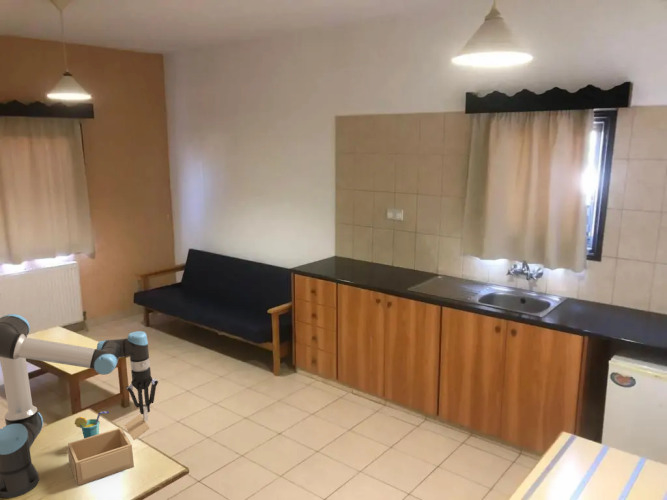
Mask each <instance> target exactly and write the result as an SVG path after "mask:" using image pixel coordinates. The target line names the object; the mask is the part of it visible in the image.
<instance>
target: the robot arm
mask: <svg viewBox="0 0 667 500" xmlns="http://www.w3.org/2000/svg"><path fill="white" fill-rule="evenodd" d="M30 328H31V327H30V323H29V321H28V319H26V318H25V317H24V316H22V315H20V314H17V313H8V314H6V315H3V316H0V364H1V372H2V373H1V374H2V379H3V387H4V390H5V391H4V392H5V393H4V394H5V398H6V403H7V404H6V405H7V412H6V413H5V415H4V420H5V421H4V423H5V426H3V427H2V428H0V499H10V498H12V499H13V498H15V497H19V496H22V495H25V494H27V493H28V492H30V491H32V490H33V489H35V488H36V486H38V484H39V483H40V476H39V472H38V471H37V468H36V467H35V466H34V464H33V462H32V456H31V447H32V445H33V444H34V442H35V441H36V439H37V437H38V436H39V435H40V433H41V431H42V428H43V425H44V419H43V416H42V414H41V413H40V412H39V411H38V407H37V406H35V405H33V399H32V393H31V391H32V390H31V385H30V378H29V372H28V365H27V359H28V360H34V361H35V360H36V361H40V362H41V361H42V362H47V363H55V364H60V365H61V364H62V365H67V366H72V367H73V366H74V367H78V368H79V367H80V368H87V369H93V370H95V372H96V373H97V374H99V375H109V374H111V373H112V372H113V371H114V370H115V369H116V367H117V365H118V362H119V359H120V358H127V357H129V360H130V369H131V370H130V371H131V382H130V384H129V386H126V387H125V388H126V390H127V392H129V395H130V397H131V400H132V402H133V404H134V406H135V408H139V413H140V415H142V418H143V420H144V421H145V422H146V423H147V422H149V413H150V412H151V409H150V408H151V407H150V406H151V404H154V402H155V395H156V390H157V385H158V384H159V381H158V379H157V378H153V377H152V374H151V367H150V366H151V363H150V362H151V361H150V352H149V350H150V349H149V341H148V336H147V333H146V332H145V331H141V330H139V331H137V330H136V331H133V332H130V333H128V335H127V338H118V339H116V338H115V339H105V340H99V341H98V343H97V345H96V348H93V347H92V348H91V347H86V346H79V345H73V344H69V343H62V342H55V341H49V340H43V339H38V338H34V337H33V338H32V337H28V335H29V333H30V330H31V329H30ZM149 387H150V393H149ZM134 388H135V389H136V390H137V397H136V395H135V392H134ZM143 396H144V398H143ZM137 398H138V400H137ZM143 399H144V400H143ZM144 403H145V404H144Z"/></svg>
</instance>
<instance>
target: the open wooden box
mask: <svg viewBox="0 0 667 500" xmlns="http://www.w3.org/2000/svg"><path fill="white" fill-rule="evenodd" d="M66 448H67V456H68V457H67V458H68V463H69V467H70V468H71V471H72V474H73V477H74V479H75V481H76V483H77V485H78V487H80V486H83V485H86V484H89V483H92V482H94V481H97V480H101V479H103V478H106V477H109V476H113V475H116V474H118V473H120V472H123V471H126V470H129V469H132V468H134V467H135V465H134V455H133V445H132V443H131V441H130V440H129V438H128V437H127V435H126V433H125V431H124V430H123V429H122V427H118V428H115V429H114V428H113V429H111V430H107V431H105V432H102V433H99V434H97V435H94V436H91V437H88V438H84V437H83V438H81V439H77V440H76V441H72V442H71V441H70V442H68V443H67V446H66Z"/></svg>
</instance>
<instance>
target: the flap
mask: <svg viewBox="0 0 667 500" xmlns="http://www.w3.org/2000/svg"><path fill="white" fill-rule="evenodd" d="M124 427H125V428H126V431H127V432H128V434H129V435H130V437H131V439H132V440H133V441H135V440H137V438H139V437H140V436H141V435H143V434H145V432H147V431H148V430H150V429H151V427H150V426H149V425H148V424H147V421H146V422H145V421H144V420H143V415H142V414H141V413H140V414H138V415H137V416H135V417H134V418H132V419H131V420H129V422H127V423H126V424H124Z"/></svg>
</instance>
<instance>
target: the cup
mask: <svg viewBox="0 0 667 500" xmlns="http://www.w3.org/2000/svg"><path fill="white" fill-rule="evenodd" d="M104 414H105V415H106V414H109V411H99V413H98V414H97V418H94V419H93V418H92V419H91V418H90V419H86V418H85V417H82V416H79V417H77V418H75V420H74V424H75V427H76V428H80V429H81V431H82V435H83V439H84V438H88V437H91V436H94V435H97V434H100V423H101V422H100V421H99V419H100V417H101V415H104Z"/></svg>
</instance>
